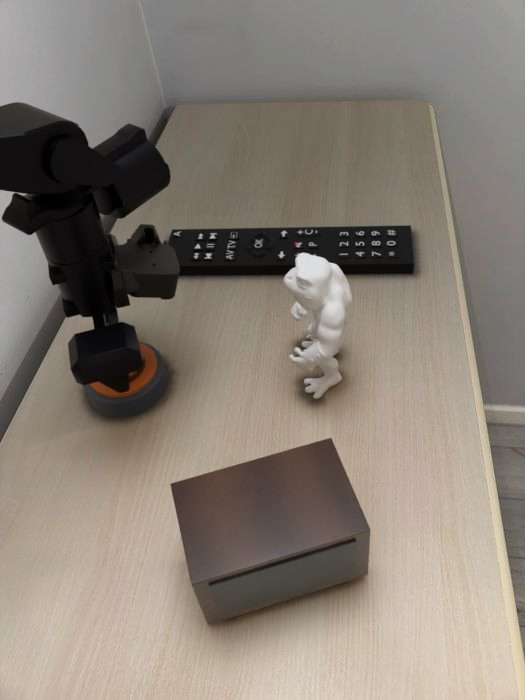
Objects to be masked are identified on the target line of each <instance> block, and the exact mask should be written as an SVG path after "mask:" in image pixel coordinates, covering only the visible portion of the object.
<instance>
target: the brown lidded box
mask: <svg viewBox="0 0 525 700" xmlns="http://www.w3.org/2000/svg"><path fill="white" fill-rule="evenodd" d="M170 489H171V494H172V499H173V503H174V508H175V513H176V518H177V523H178V527H179V528H178V529H179V531H180V533H179V534H180V538H181V542H182V546H183V551H184V557H185V560H186V566H187V571H188V575H189V580H190V585H191V588H192V590H193V592H194V594H195V597H196V599H197V602H198V604H199V607H200V610H201V612H202V615H203V617H204V619H205V622H206V624H207V625H208V626H209V625H212V624H215V623H219V622H222V621H225V620H229V619H231V618H236V617H238V616H241V615H245V614H247V613H251V612H254V611H257V610H260V609H263V608H267V607H270V606H273V605H276V604H279V603H282V602H283V603H284V602H286V601H289V600H292V599H295V598H298V597H302V596H305V595H308V594H312V593H315V592H319V591H321V590H324V589H328V588H330V587H334V586H337V585H340V584H344V583H346V582H351V581H353V580H357V579H360V578H362V577H367V576H368V575H369V566H370V565H369V564H370V546H371V528H370V525H369V522H368V520H367V518H366V516H365V514H364V511H363V509H362V507H361V503H360V501H359V500H358V497H357V495H356V493H355V490H354V488H353V485H352V483H351V481H350V478H349V476H348V474H347V471H346V469H345V467H344V464H343V462H342V459H341V456H340V455H339V453H338V449H337V448H336V446H335V443H334V441H333V439H332V437H328V438H325V439H322V440H318V441H314V442H311V443H307V444H303V445H299V446H297V447H294V448H293V447H292V448H290V449H286V450H283V451H280V452H276V453H273V454H269V455H264V456H262V457H259V458H255V459H253V460H252V459H251V460H248V461H245V462H244V461H243V462H241V463H237V464H234V465H230V466H226V467H223V468H220V469H216V470H213V471H210V472H206V473H203V474H199V475H195V476H191V477H188V478H185V479H181V480H178V481H174V482H171V483H170Z"/></svg>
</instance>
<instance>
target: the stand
mask: <svg viewBox="0 0 525 700" xmlns="http://www.w3.org/2000/svg"><path fill="white" fill-rule="evenodd" d="M139 343H141V344H144V345H146V346H147V347H149V348H150V349H151V350H152V351H153V352H154V354H155V356H156V360H157V372H156V374H155V376H154V378H153V380H152V381H151V382H150V383H149V384H148V385H147V386H146V387H145V388H144V389H142V390H141V391H139V392H137V393H135V394H133V395H130V396H126V397H121V398H110V397H105V396H102V395H100V394H98V393H97V392H95V391H94V390H93V389H92V387H91V386H90V384H87V385H84V386H83V385H82V388H83V390H84V392H85V394H86V396H87V398H88V401H89V404H90V405H91V406H92V408H93V409H95V411H97V412H98V413H100V414H101V415H104V416H106V417H109V418H110V417H111V418H117V419H118V418H129V417H133V416H136V415H140V414H142V413H144V412H146V411H148V410H150V409H151V408H153V407H154V406H155V405H156V404H157V403H158V402H159V401H160V400H161V399H162V398H163V396H164V394H165V393H166V391H167V388H168V384H169V376H168V371H167V367H166V364H165V361H164V358H163V356H162V354H161V353H160V351H159V350H158V349H157V348H156V347H155V346H153V345H152V344H150V343H147V342H144V341H140V340H139Z"/></svg>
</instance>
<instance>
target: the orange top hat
mask: <svg viewBox="0 0 525 700" xmlns="http://www.w3.org/2000/svg"><path fill="white" fill-rule="evenodd" d="M108 325H109V324H108V323H107V326H108ZM140 348H141V352H142V357H143V362H144V366H143V367H142V368H141V369H140V370H139V371H136V372H133V373H129V386H130V390H129V391H127V392H123V393H118V392H116V391H115V390H113V389H111V388H109V387H107V386H105V385H104V384H102V383H100V382H95V383H91V384H90V386H91V387H92V389H93V390H94V391H95V392H97V393H98V394H100V395H102V396H105V397H110V398H121V397H126V396H130V395H133V394H135V393H137V392H139V391H141V390H142V389H144V388H145V387H146V386H147V385H148V384H149V383H150V382H151V381H152V380H153V378H154V376H155V374H156V372H157V360H156V356H155V354H154V352H153V351H152V350H151V349H150V348H149V347H147V346H146V345H144V344H141V343H140Z"/></svg>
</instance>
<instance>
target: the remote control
mask: <svg viewBox="0 0 525 700" xmlns="http://www.w3.org/2000/svg"><path fill="white" fill-rule="evenodd" d="M168 244H169V246H171V247H172V248H173V249H174V251H175V254H176V257H177V260H178V264H179V267H180V273H179V276H257V275H258V276H260V275H261V276H263V275H264V276H267V275H269V276H270V275H271V276H272V275H274V276H275V275H277V276H278V275H280V276H281V275H282V276H283V275H284V276H285V275H286V274H287V273H288V272H289V271H290V270H291V269H293V268H295V267H296V264H295V259H296V257H297V256H298V255H299V254H300V253H307V254H310V255H314V256H318V257H322V258H325V259H326V260H327V261H328V262H329V263H334V264H336V265H338V266H339V268H340V269H341V270H342V272H343V274H344V275H393V274H395V275H397V274H398V275H399V274H400V275H401V274H402V275H403V274H404V275H405V274H406V275H407V274H411V275H412V274H414V268H415V256H414V247H413V235H412V225H409V224H408V225H355V226H353V225H352V226H351V225H349V226H304V227H303V226H299V227H298V226H296V227H295V226H294V227H239V228H179V229H178V228H174V229H173V228H172V229H171V231H170V235H169V239H168Z"/></svg>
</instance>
